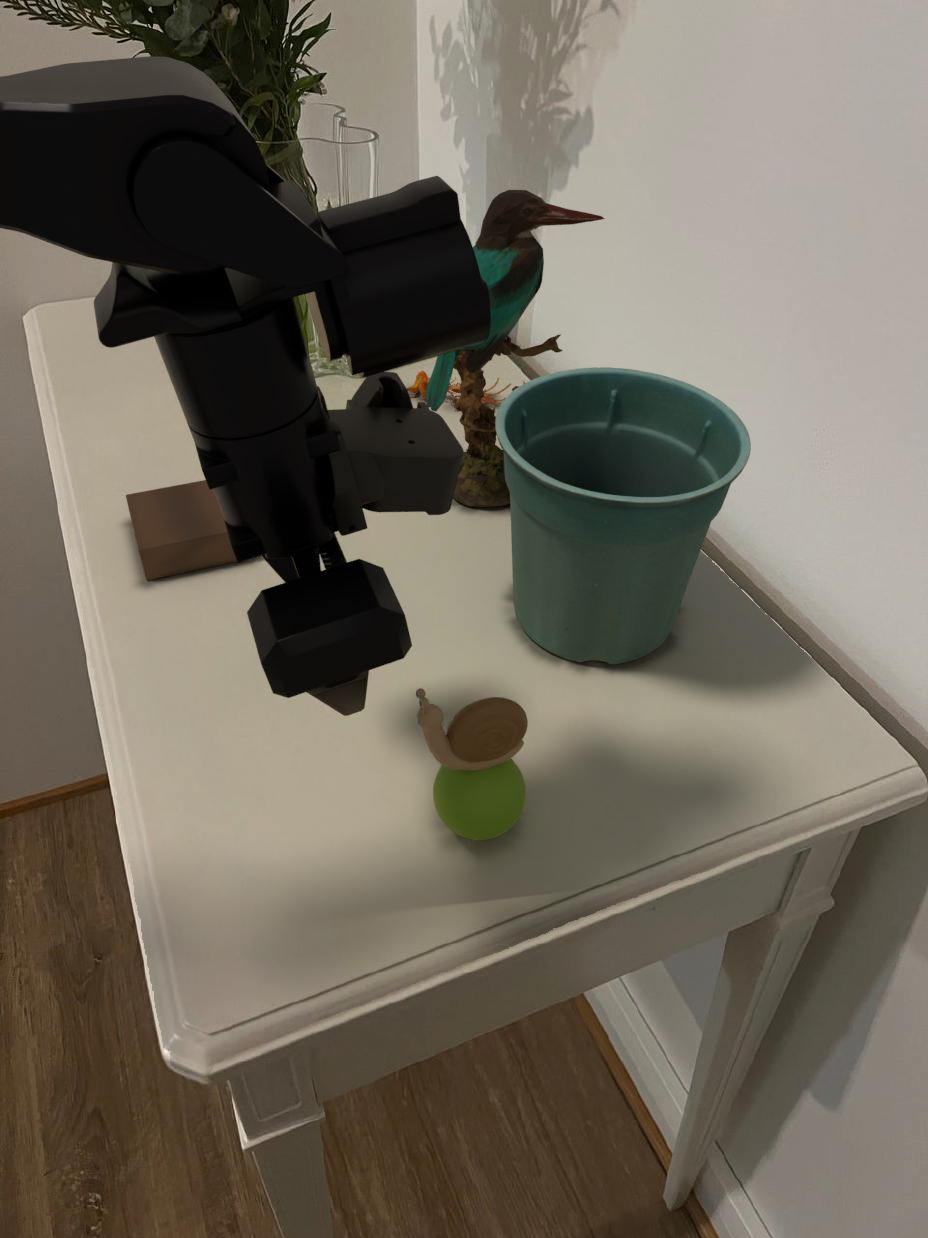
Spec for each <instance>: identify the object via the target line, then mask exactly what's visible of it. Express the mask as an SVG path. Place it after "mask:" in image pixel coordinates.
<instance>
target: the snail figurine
mask: <svg viewBox="0 0 928 1238" xmlns="http://www.w3.org/2000/svg"><path fill="white" fill-rule="evenodd" d="M415 696H416V698H417V699H418V704H419V710H417V713H416V719H417V724H418V725H419V727H421V730H422V734H423V737H424V740H425V742H426V745H427V748H428V749H429V752H430V753H431V755H432V756H433V757H434V759H435V761H436V762H438V763H439V765H440V767H439V769H438V771H437V773H436V774H435V778H434V782H433V786H432V787H433V788H432V799H433V804H434V808H435V811H436V813H437V815H438V817H439V818H440V820H441V821H442V823H443V824H444V825H445V826H446V827H447V828H448V829H449V830H450V831H451V832H453V833H455V834H456V835H458V836H460V837H462V838H465V839H467V840H474V841H486V840H491V839H494V838H497V837H499V836H501V835H503V834H505V833H506V832H507V831H509V830H510V829H511V828H513V826H514V825H516V823H517V821H518V820H519V819H520V817H521V815H522V813H523V810H524V808H525V804H526V799H527V798H526V797H527V790H526V789H527V788H526V782H525V779H524V776H523V774H522V771H521V770H520V767H519V766H518V765H517V763H516V762H515V761H514V760H513V759H512V758H513V757H514V756H516V755H517V754H518V753H519V752H520V751H521V750H522V748H523V747H524V745H525V741H524V740H523V739H524V737H525V736H526V734H527V730H528V723H529V721H528V716H527V712H526V711H525V709H524V708H523V707H522V706H521V705H520V704H519V703H518V702H516V701H514V700H512V699H510V698H507V697H501V696H491V697H484V698H481V699H478V700H475V701H473V702H471V703H469V704H467V705H466V706H464V707H462V708H461V709H460V710H458V712H456V713H455V715H454V716H453V717H452V719H451V720H450V721H449V724H448V726H447V729H446V732H445V729H444V727H443V724H442V723H443V721H444V711H443V710H442V708H441V707H439V706H438V705H436V704H433V703H430V700H429V699H428V698H427V697H426V691H425V689H424V688H422V687H420V688H417V689H416V691H415Z"/></svg>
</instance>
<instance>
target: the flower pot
mask: <svg viewBox="0 0 928 1238" xmlns="http://www.w3.org/2000/svg"><path fill="white" fill-rule="evenodd" d="M518 386H519V385H518ZM505 398H506V399H505V400H503V401H501V404H500V405H499V407H498V410H497V413H496V415H495V416H496V419H495V427H496V433H497V435H496V439H497V442H498V443H499V445H500V449H501V450H503V451H504V471H505V480H506V483H507V486H508V489H509V491H510V503H509V506H510V535H511V536H510V537H511V566H512V567H511V569H512V595H513V596H512V597H513V598H512V600H513V609H514V615H515V617H516V621H517V622H518V625H519V626H520V628H521V629H522V630H523V632H524V633H525V634H526V635H527V636H528V637H529V638H530V639H531V640H532V641H533V642H534V643H536V644H537V645H539V646H540V647H541V648H543V649H545V650H546V651H548V652H550V653H551V654H553V655H555V656H557V657H561V658H563V659H566V660H569V661H573V662H577V663H583V662H587V661H599V662H604V663H607V664H608V665H619V664H624V663H629V662H633V661H637V660H639V659H641V658H643V657H645V656H648V655H649V654H651V653H652V652H654V651H655V650H657V649H658V648H659V647H661V646H662V645H663V644H664V642H665V641H666V640H667V638H668V637H669V635H670V633H671V632H672V629H673V627H674V624H675V621H676V619H677V616H678V613H679V610H680V607H681V606H682V602H683V599H684V597H685V594H686V591H687V589H688V586H689V583H690V581H691V577H692V575H693V572H694V569H695V567H696V565H697V561H698V558H699V556H700V554H701V550H702V547H703V546H704V542H705V540H706V536H707V535H708V531H709V528H710V526H711V524H712V521H713V520H714V519H715V518H716V517H717V516H718V514H719V513H720V511H721V509H722V507H723V505H724V502H725V500H726V498H727V496H728V492H729V490H730V487H731V485H732V483H733V482H734V481H735V480H736V479H737V478H738V477H739V476H740V475H741V474H742V472H743V470H744V469H745V467H746V465H747V463H748V461H749V459H750V456H751V450H752V447H751V446H752V444H751V443H752V442H751V437H750V434H749V432H748V429H747V427H746V425H745V424H744V421H743V420H742V419H741V418H740V416H739V415H738V414H737V413H736V412H735V411H734V410H733V409H732V408H731V407H730V406H728V405H727V404H726V403H724V401H722V400H720V399H719V398H717V397H716V396H715V395H712V394H711V393H710V392H707V391H706V390H704V389H702V388H699V387H697V386H695V385H693V384H690V383H688V382H685V381H683V380H680V379H677V378H673V377H670V376H666V375H663V374H658V373H654V372H648V371H643V370H638V369H631V368H624V367H623V368H622V367H607V366H605V367H594V366H593V367H583V368H582V367H581V368H572V369H566V370H560V371H555V372H552V373H548V374H543V375H541V376H538V377H535V378H533V379H530V380H529V381H527V382H525V384H524V383H523V384H522V385H520V386H519V387H518V388H516V389H515V390H514V391H511V392H510V393H509V394H508V395H507V396H506V397H505Z"/></svg>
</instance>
